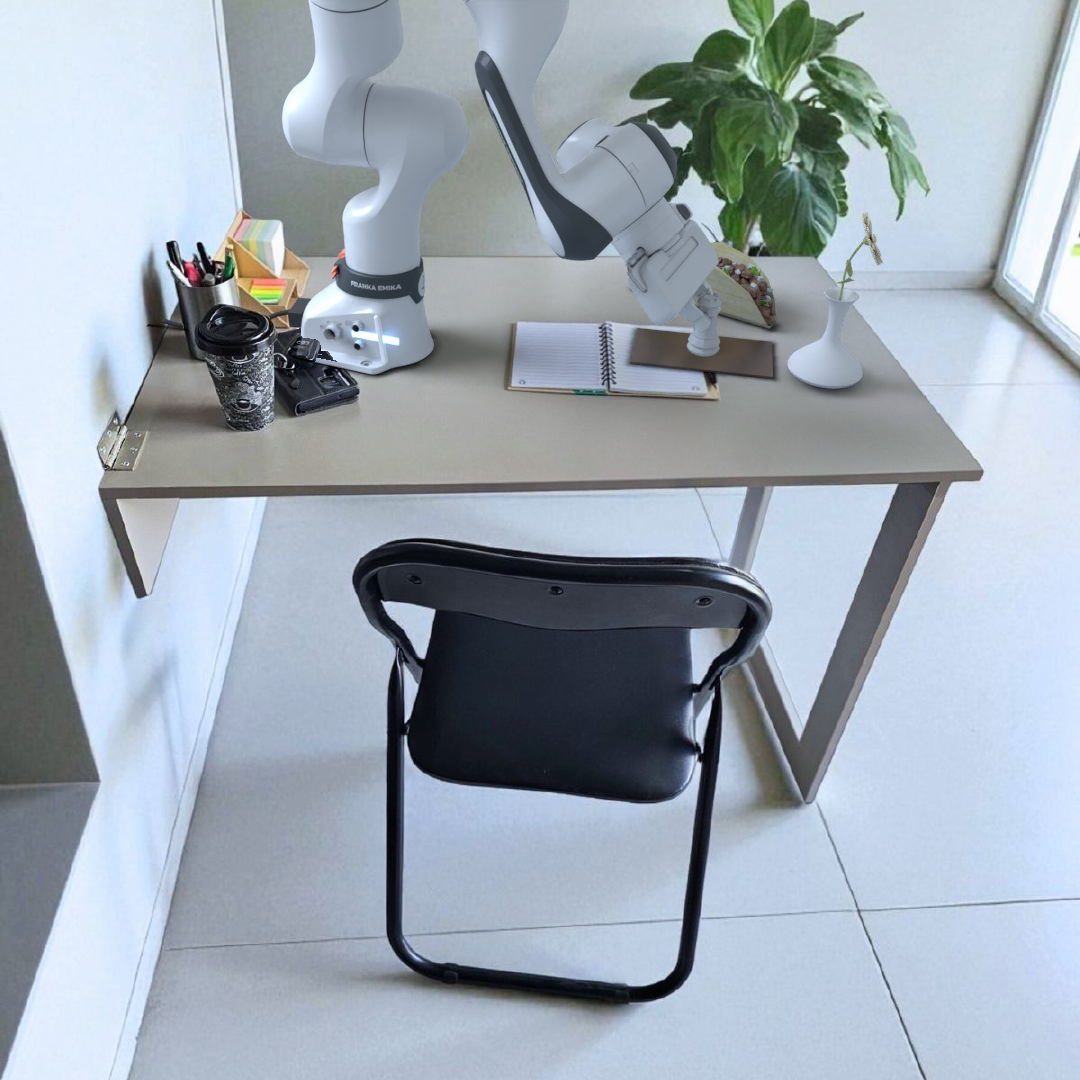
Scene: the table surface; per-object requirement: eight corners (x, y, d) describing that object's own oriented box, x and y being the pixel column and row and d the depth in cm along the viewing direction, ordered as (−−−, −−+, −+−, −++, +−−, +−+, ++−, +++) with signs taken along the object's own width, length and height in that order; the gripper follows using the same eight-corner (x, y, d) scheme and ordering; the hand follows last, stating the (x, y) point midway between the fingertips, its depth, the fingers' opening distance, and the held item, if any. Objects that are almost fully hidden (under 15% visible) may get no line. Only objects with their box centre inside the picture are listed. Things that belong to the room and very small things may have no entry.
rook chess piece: (718, 359, 140) (727, 303, 135) (685, 355, 141) (692, 300, 136) (719, 344, 144) (728, 289, 139) (687, 340, 144) (694, 286, 139)
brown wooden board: (630, 363, 163) (630, 361, 162) (636, 329, 172) (637, 327, 172) (772, 379, 160) (773, 376, 160) (771, 343, 170) (771, 341, 169)
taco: (762, 338, 171) (773, 280, 165) (620, 295, 182) (625, 239, 176) (785, 318, 178) (796, 261, 171) (646, 277, 189) (652, 223, 183)
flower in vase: (845, 403, 155) (886, 241, 140) (774, 381, 160) (805, 221, 144) (873, 369, 164) (914, 213, 149) (804, 349, 169) (837, 196, 153)
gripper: (641, 250, 127) (707, 341, 130) (690, 199, 142) (749, 281, 145) (604, 278, 131) (669, 365, 134) (655, 225, 146) (713, 305, 149)
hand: (711, 321), depth 139 cm, fingers closed on rook chess piece, 3 cm apart
